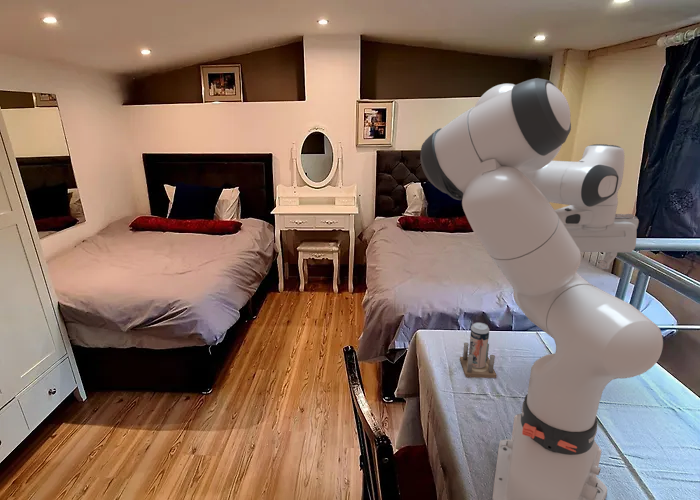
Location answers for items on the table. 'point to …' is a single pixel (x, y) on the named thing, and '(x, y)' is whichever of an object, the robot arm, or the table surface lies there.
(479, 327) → the beer can
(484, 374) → the holder
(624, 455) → the table surface
